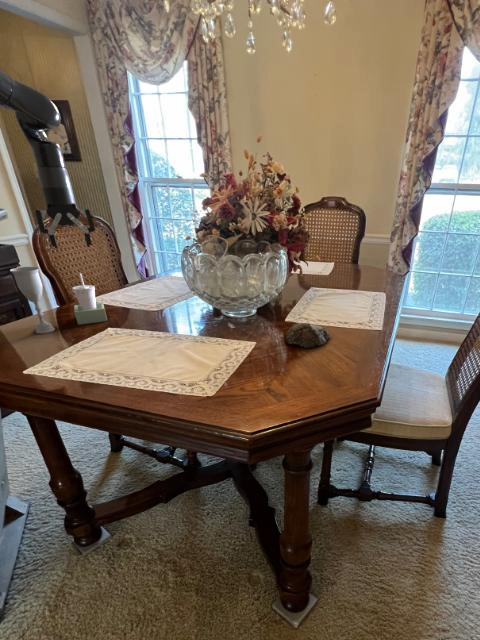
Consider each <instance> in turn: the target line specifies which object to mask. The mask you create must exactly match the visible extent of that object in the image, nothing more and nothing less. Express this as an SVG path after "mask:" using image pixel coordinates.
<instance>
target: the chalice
mask: <svg viewBox="0 0 480 640" xmlns="http://www.w3.org/2000/svg"><path fill="white" fill-rule="evenodd" d="M39 268H40V267H38V266H20V267H15V268H11V269H10V270H9V272H11V274H13V276H14V278H15V282H16V285H17V288H18V289H19V291H20V292H21V293H22V295H23V296H24V297H25V298H26V299H27V300H28V301H29V302H31V303H33V304H34V307H35V308H34V310H35V311H36V313H37V314H36V316H37V317H38V319H39V322H37V323H36V328H35V329H36V330H35V333H36V334H47V333H51V332H54V331H55V330H56V328H55V327H53V325H52V324H51V322H49V321H46V320H45V319H44V313H43V312H42V307H40V305H39V302H41V300H42V295H43V283H42V280H41V276H40V273H39Z"/></svg>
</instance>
